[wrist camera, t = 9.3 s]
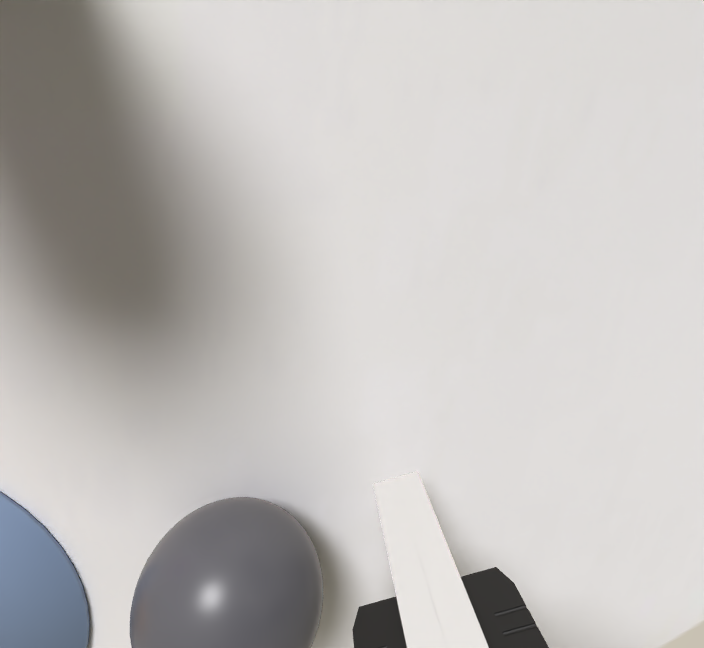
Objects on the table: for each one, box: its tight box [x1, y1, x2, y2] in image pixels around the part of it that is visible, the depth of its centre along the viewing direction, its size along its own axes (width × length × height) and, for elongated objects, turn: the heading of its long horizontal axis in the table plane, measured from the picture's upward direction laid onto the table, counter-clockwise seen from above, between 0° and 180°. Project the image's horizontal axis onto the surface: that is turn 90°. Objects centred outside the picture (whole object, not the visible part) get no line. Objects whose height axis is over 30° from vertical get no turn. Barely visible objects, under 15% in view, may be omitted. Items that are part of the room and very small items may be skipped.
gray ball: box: [130, 497, 323, 648], centre depth 12 cm, size 6×6×6 cm
